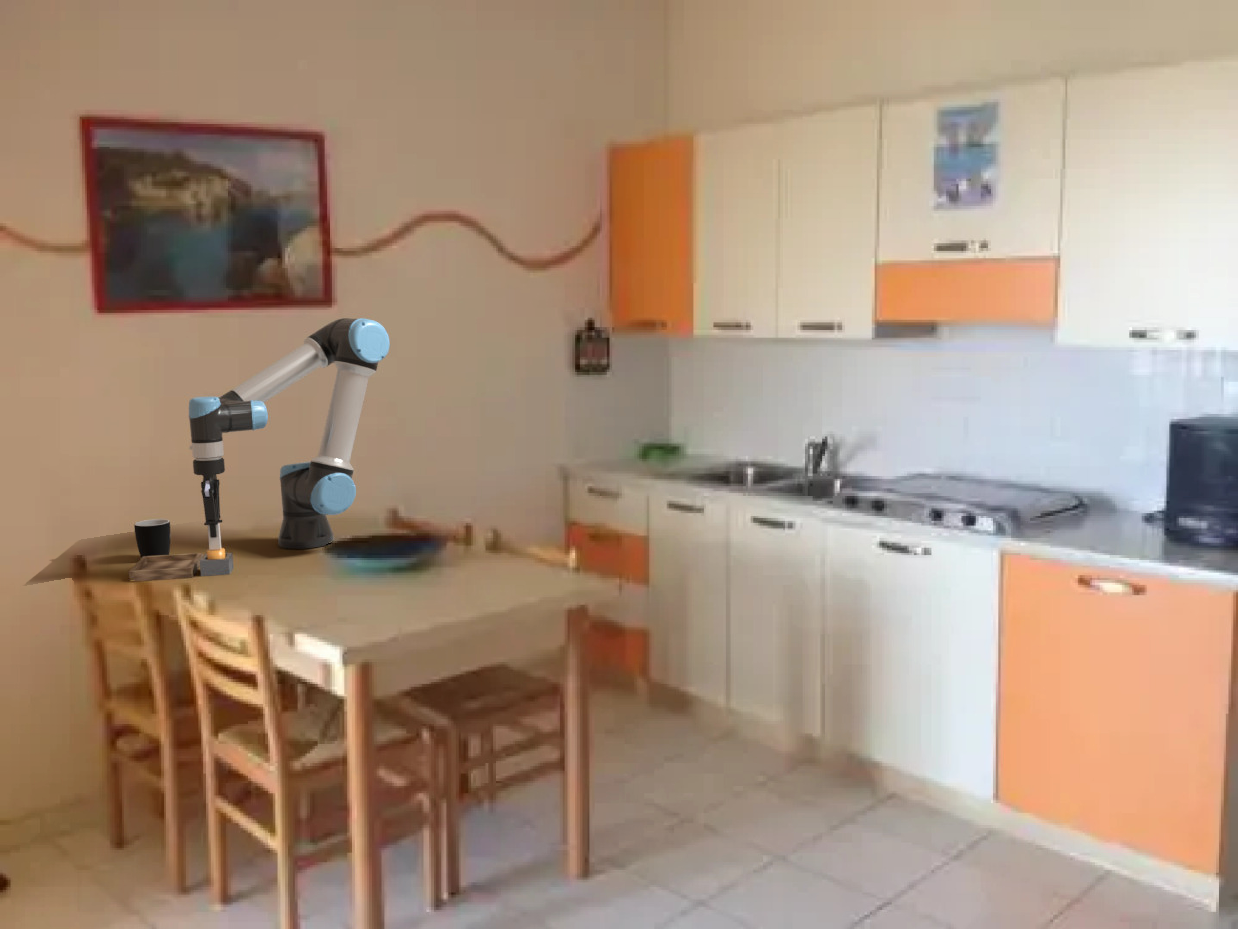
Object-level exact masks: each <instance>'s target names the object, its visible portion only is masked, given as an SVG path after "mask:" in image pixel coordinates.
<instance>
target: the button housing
mask: <svg viewBox="0 0 1238 929" xmlns="http://www.w3.org/2000/svg"><path fill="white" fill-rule="evenodd" d="M233 556H234V555H233V552H225V558H223V559H207V553H206V554H203V557H202V558H201V560H200V567H199V569H200V577H209V576H225V575H227V576H228V575H231V573H232V572H233V570H234V557H233Z"/></svg>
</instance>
